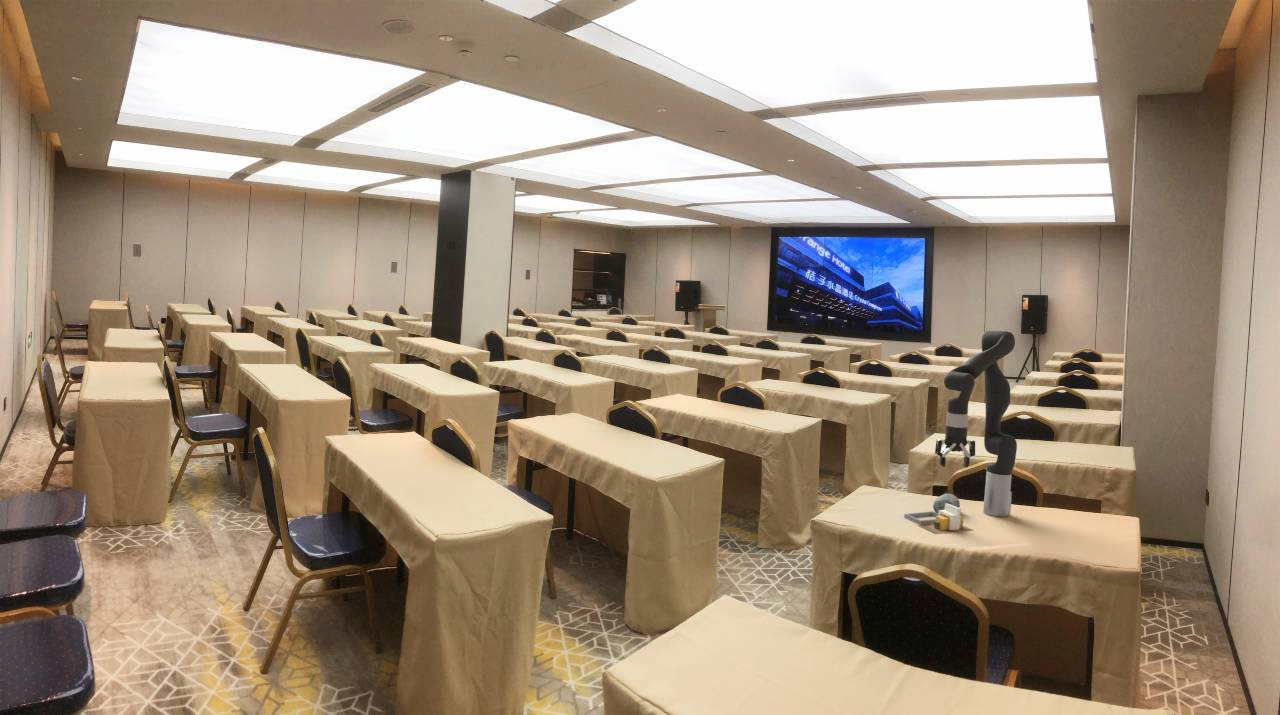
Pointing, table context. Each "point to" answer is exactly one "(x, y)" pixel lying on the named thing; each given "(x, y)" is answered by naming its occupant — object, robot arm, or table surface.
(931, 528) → the clamp board
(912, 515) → the tray
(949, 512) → the white stepped block
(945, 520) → the yellow rectangular block
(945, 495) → the streaked grey-blue ovoid
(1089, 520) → the table surface
